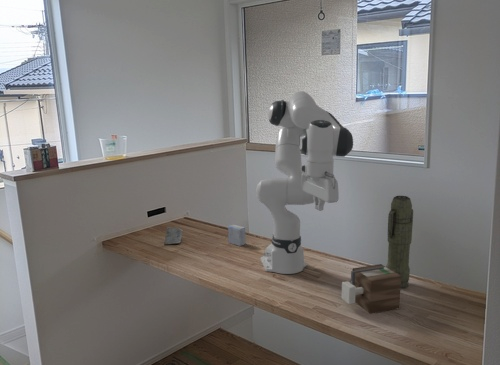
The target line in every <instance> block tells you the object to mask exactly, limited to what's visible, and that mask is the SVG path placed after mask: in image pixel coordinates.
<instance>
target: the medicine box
mask: <svg viewBox="0 0 500 365" xmlns="http://www.w3.org/2000/svg"><path fill="white" fill-rule="evenodd" d="M227 235H228V236H227V239H228V244H231V245H234V246H237V247H241V246H244V245H246V244H247V242H246V241H247V240H246V227H244V226H240V225H236V224H231V225H228V227H227Z"/></svg>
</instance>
